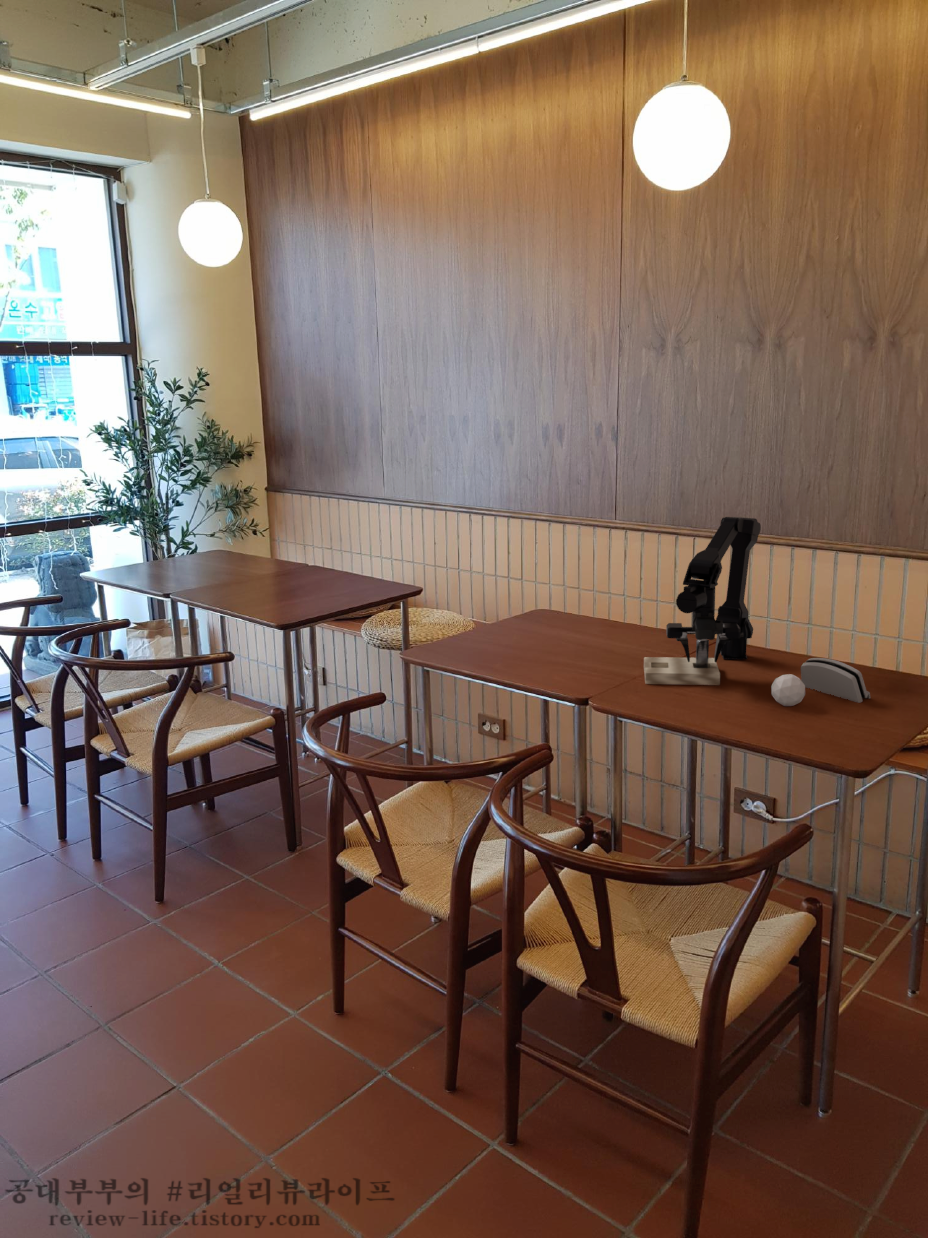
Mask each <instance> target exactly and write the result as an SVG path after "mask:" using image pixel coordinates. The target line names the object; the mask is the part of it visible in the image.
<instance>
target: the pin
mask: <svg viewBox="0 0 928 1238" xmlns="http://www.w3.org/2000/svg"><path fill="white" fill-rule="evenodd" d="M695 643H696V646H695V658H696V668H708V658H709V648H710V647H709V646H710V644H709V643H710V640H709V639H702V640H698V639H696V642H695Z"/></svg>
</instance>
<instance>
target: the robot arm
mask: <svg viewBox="0 0 928 1238" xmlns="http://www.w3.org/2000/svg"><path fill="white" fill-rule="evenodd" d="M761 526H762V525H761V523H760V522H759V521H758V520H757V518H755V517H741V516H740V517H739V516H724V517H722V518H721V520H720V525H719V527H718V528H717V530H716V531H715V534H713V536H712V538H711V540H710V541H709V542H708V544H707V546H706V547H705V549H703V550H701V551H700V552H697V553H696V554H695V555H694V556H693V557H692V559H691V561H690V562H689V564H688V566H687V569H686V572H685V576H684V579H683V582H682V586H683V591H681V592H680V593H679V594H678V595H677V596H676V599H675V604H676V607H677V609H678V610H679V611H680V612H682V613H683V614H691V615H692V617H691V626H683V625H682V622H668V623H667V624H666V626H665V627H666V628H665V631H666V633H665V634H666V638H667V639H675V641H677V642H680V643H681V645H682V648H683V650H684V653H685V656H686V657H685V658H687V660H688V662H690V658H691V657H690V655H691V654H690V648H689V639H688V635H695V639H696V640H697V639H698V640H702V639H707V640H709V641H712V640H715V638H716V641H715V647H714V648H715V649H714V657H713V658H714V661H715V662H716V663H717V662H718V660H719V657H720V656H722V658H723V660H748V656H747V647H748V646H747V645H748V639H752V636H753V634H754V626H753V625H752V623H751V622H750V619H749V610H748V608H747V606H746V604H745V595H746V587H747V580H748V579H747V578H748V570H749V563H750V553H751V550H752V549H753V547H754V546H755V545H756V543H758V540H759V539H758V537H759V535H760V534H761V531H762V530H761V529H762V527H761ZM730 547H731V556H730V557H731V558H730V566H729V573H728V580H727V581H728V583H727V590H726V599H725V601H724V602H723V603H722V605H719V607H718V608H717V615H716V614H715V613H716V587H717V586H718V585H719V583H718V580H719V578H720V576H721V573H722V570H723V565H722V560H723V558H724V556H725V555H726V553H727V552H728V550H729V548H730ZM715 615H716V618H715Z"/></svg>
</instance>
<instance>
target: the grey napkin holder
mask: <svg viewBox="0 0 928 1238" xmlns="http://www.w3.org/2000/svg"><path fill="white" fill-rule="evenodd" d="M800 677H801V678H800V680H801V681H802V682H803V684H804V685H805V689H806V688H807V689H809V688H810V690H813V689H815V690H814V691H816V690H817V692H820V691H821V692H820V693H823V694H827V695H830V694H831V696H833V695H834V697H837V698H840V697H841V698H840V699H845V700H847V699H848V700H849V701H851V702H855V703H858V704H859V703H862V702H863V700H864V699H868V700H869V699H871V692H870V691H868V690H867V687H866V685H865V680H864V676H863V674H862V672H861V671H860V670H858V669H856V668H854V667H853V666H851V665H848V664H846V663H844V662H842V661H839V660H835V659H832V658H825V657H812V658H808V659H807V660H806V661H805V662H803V663H802V665H801V666H800Z"/></svg>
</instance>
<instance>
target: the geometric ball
mask: <svg viewBox="0 0 928 1238" xmlns="http://www.w3.org/2000/svg"><path fill="white" fill-rule="evenodd" d="M770 688H771V690H770V691H771V696H772V697H773V699H774V700H775V702H776V703H778V704H780V705H782V706H783V707H792V706H795V705H797V704H799V703H801V702H802V701H803V699H804V698H805V696H806V687H805V685H804V684H803V682H802V681H801V678H800V677H798V676H796V675H794V673H793V674H790V673H788V674H782V675H780V676H779V677H776V678H775V679H774V680H773V682H772V684H771V686H770Z"/></svg>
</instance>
